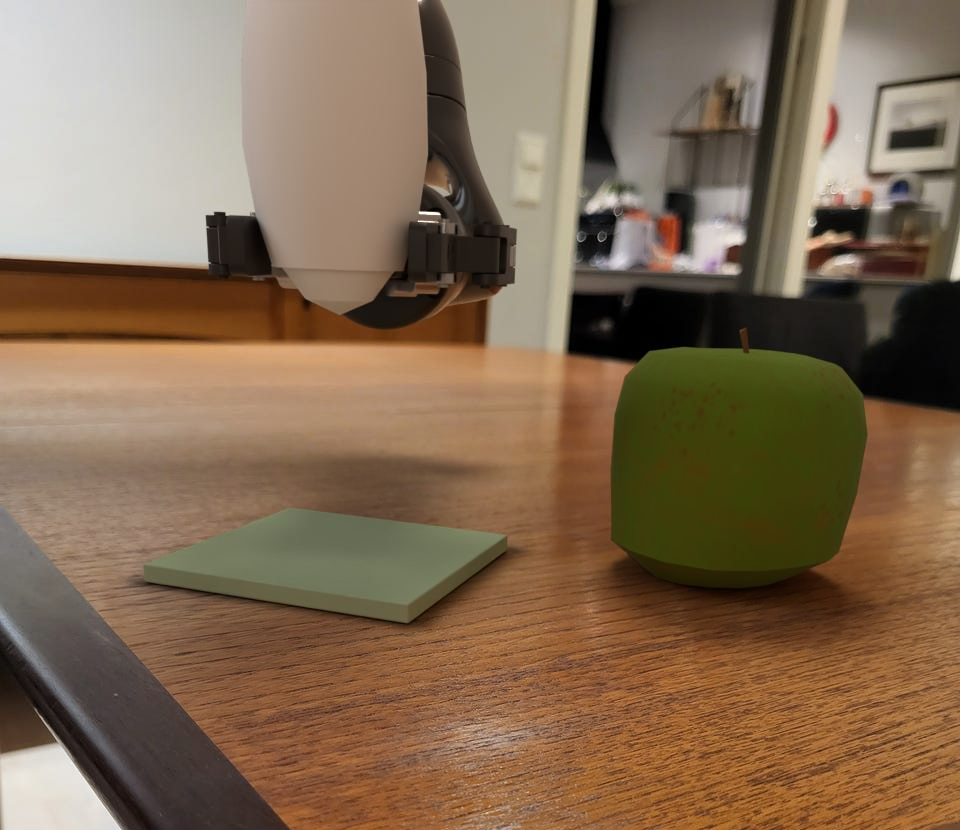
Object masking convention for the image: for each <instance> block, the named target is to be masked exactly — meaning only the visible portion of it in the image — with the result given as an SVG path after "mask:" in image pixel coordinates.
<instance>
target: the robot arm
mask: <svg viewBox="0 0 960 830" xmlns="http://www.w3.org/2000/svg"><path fill="white" fill-rule="evenodd" d="M418 7H419V15H420V24H421V32H422V41H423V49H424V58H425V66H426V78H427V130H428V157H427V164H426V171H425V177H424V184H423V191H422V197H421V204H420V211H419V217H418V221H410V223H409V231H408V257H407V260H406V264H405V267H404V270H403V271H394V273H393V274H392V275H391V277H390V278H389V279H388V281H387V282H386V283H385V285H384V286H383V288H382V289H381V290H380V292H379V293H378V294H377V296H376V297H375V299H374V300H373V301H371V302H369V303H366V304H364V305H362V306H360V307H357V308H355V309H353V310H350V311H348V312H346V313H343V314H341V315H340V316H342V317H344V318H345V319H347V320H348V321H350V322H352V323H354V324H356V325H359V326H361V327H364V328H368V329H372V330H379V331H391V330H393V331H394V330H400V329H403V328H407V327H410V326H412V325H414V324H417V323H420V322H422V321H425V320H427V319H430V318H432V317H433V316H435V315H438V313H439V312H441V311H443V310H444V309H445V308H446V307H451V306H457V305H461V304H468V303H473V302H479V301H484V300H487V299H489V298H492V297H494V296H496V295H498V294H499V293H500V292H501V290H502V289H503V288H507V287H508V285H514V284H515V283H516V264H517V262H516V261H517V241H518V240H517V239H518V237H517V236H518V228H515V227H511V226H510V225H509V224H505V223H504V220H503V218H502V216H501V214H500V212H499V209H498V207H497V205H496V202H495V201H494V199H493V198H494V197H493V196H492V194H491V192H490V190H489V187H488V186H487V184H486V180H485V178H484V176H483V173H482V171H481V168H480V165H479V163H478V159H477V157H476V156H477V155H476V153H475V149H474V144H473V140H472V137H471V131H470V125H469V120H468V112H467V105H466V104H467V103H466V97H465V89H464V81H463V75H462V68H461V61H460V55H459V50H458V45H457V41H456V37H455V33H454V30H453V29H454V28H453V27H452V24H451V21H450V18H449V15H448V13H447V11H446V9H445V7H444V5H443V2H442V0H418ZM431 186H432V187H431ZM433 187H438V188H442V189H443V190H445V191H447V192H448V195H443V194H442V193H440V192H439V191H437V190H436V189H435V188H433ZM226 214H227V212H226V211H213V214H205V227H206V228H205V230H206V231H205V232H206V244H207V245H206V247H207V260H208V261H207V262H208V275H210V276H217V277H216V278H217V279H221V280H222V279H223V280H229V279H230V276H237V277H238V276H239V277H241V278H252V281H259V282H260V281H265V280H266V278H276V280H277V283H278V284H279V285H278V286H280V287H281V288H283V289H292V290H293V289H294V290H298V288H297V287H296V286H295V284H294V283H293V282H292V280H291V279H290V278H289V276H288V275H287V274H286V272H285V271H284V270H283V268H282V267H273V266H272V263H271V260H270V257H269V254H268V251H267V248H266V245H265V242H264V239H263V235H262V232H261V229H260V226H259V223H258V220H257V217H256V214H255V211H254V212H253V211H250V212H249V215H238V214H235V215H234V214H229V215H226Z"/></svg>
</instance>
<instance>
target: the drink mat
mask: <svg viewBox="0 0 960 830" xmlns="http://www.w3.org/2000/svg"><path fill="white" fill-rule="evenodd" d="M508 537H509V536H508V535H507V534H505V533H498V532H497V533H495V532H490V531H489V532H487V531H481V530H472V529H464V528H456V527H449V526H440V525H433V524H424V523H417V522H410V521H409V522H407V521H401V520H400V521H399V520H394V519H393V520H392V519H385V518H376V517H369V516H368V517H367V516H361V515H353V514H344V513H338V512H337V513H336V512H328V511H321V510H312V509H304V508H297V507H288V508H284V509H283V510H280V511H277V512H275V513H272V514H269V515H267V516H265V517H261V518H259V519H257V520H254V521H251V522H248V523H247V524H244V525H241V526H239V527H236V528H233V529H230V530H228V531H225V532H223V533H220V534H218V535H215V536H212V537H210V538H207V539H205V540H202V541H199V542H197V543H194V544H192V545H189V546H187V547H184V548H181V549H178V550H176V551H173V552H171V553H169V554H166V555H163V556H161V557H157V558H155V559H153V560H150V561H148V562H145V563H143V565H142V566H143V579H144V582H145V583H151V584H157V585H164V586H170V587H175V588H181V589H182V588H183V589H189V590H194V591H202V592H209V593H213V594H220V595H226V596H231V597H238V598H245V599H253V600H258V601H264V602H271V603H277V604H283V605H290V606H297V607H302V608H309V609H314V610H321V611H327V612H334V613H341V614H348V615H352V616H358V617H365V618H371V619H378V620H385V621H391V622H396V623H402V624H409V623H410V622H412V621H413V620H415V619H416V618H418V617H419V616H420V615H421V614H423V613H424V612H425V611H427V610H428V609H429V608H431V607H432V606H434V605H435V604H436V603H438V602H439V601H440V600H442V599H443V598H444V597H447V595H449V594H450V593H451V592H453V591H454V590H455V589H457V588H458V587H459V586H460V585H463V583H465V582H466V581H467V580H469V579H470V578H471V577H473V576H474V575H475V574H477V573H478V572H479V571H481V570H483V568H485V567H486V566H487V565H489V564H490V563H491V562H493V561H494V560H495V559H497V558H498V557H500V556H501V555H502V554H504V553H505V552H506V551H507V550H508V539H509V538H508Z"/></svg>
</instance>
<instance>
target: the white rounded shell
mask: <svg viewBox="0 0 960 830" xmlns="http://www.w3.org/2000/svg"><path fill="white" fill-rule="evenodd" d="M245 4H246V5H245V14H244V15H245V16H244V26H243V37H242V47H241V57H240V63H241V64H240V66H241V68H240V69H241V75H240V77H241V138H242V139H241V141H242V142H241V143H242V149H243V155H244V161H245V166H246V171H247V176H248V182H249V187H250V193H251V197H252V203H253V209H254V212H255V214H256V217H257V220H258V223H259V226H260V229H261V232H262V235H263V239H264V242H265V245H266V248H267V251H268V254H269V257H270V260H271V263H272V266H273V267H282V268H283V270H284V271H285V272H286V274H287V275H288V276H289V278H290V279H291V280H292V282H293V283H294V284H295V286H296V287H297V288H298V289H297V290H298V291H299V292H300V294H301V295H302V297H303V298H304V299H305V300H307V301H309V302H311V303H313V304H316V305H317V306H319V307H321V308H323V309H326V310H328V311H330V312H332V313H334V314H336V315H338V316H342V315H341V314H343V313H346V312H348V311H350V310H353V309H355V308H357V307H360V306H362V305H364V304H366V303H369V302H371V301H373V300H374V299H375V297H376V296H377V294H378V293H379V292H380V290H381V289H382V288H383V286H384V285H385V283H386V282H387V281H388V279H389V278H390V277H391V275H392V274H393V273H394V271H403V270H404V267H405V264H406V260H407V257H408V231H409V223H410V221H418V217H419V211H420V204H421V197H422V191H423V184H424V177H425V171H426V164H427V157H428V130H427V78H426V66H425V58H424V49H423V41H422V32H421V24H420V15H419V7H418V0H246V2H245Z"/></svg>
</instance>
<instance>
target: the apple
mask: <svg viewBox="0 0 960 830" xmlns="http://www.w3.org/2000/svg"><path fill="white" fill-rule="evenodd" d="M747 328H748V327H744V328H742V329H741V328H740V329H739V336H740V341H741V347H742V348H724V347H723V348H719V347H718V348H715V347H714V348H713V347H712V348H711V347H710V348H708V347H690V346H689V347H688V346H681V347H672V348H663V349H656V350H649V351H648V352H647V353H645V355H644V356H643V357H642V358H641V359H640V360H639V361H638V362H637V363H636V364H635V365H634V366H633V367H632V368H631V369H630V370H629V371H628V372H627V373H626V374H625V375H624V377H623V380H622V384H621V388H620V393H619V396H618V400H617V403H616V407H615V411H614V417H613V431H612V443H611V445H612V447H611V458H610V522H611V524H610V525H611V526H610V527H611V528H610V540H611V541H612V542H613V543H614V544H616V546H618V547H619V548H620V550H622V551H624V552H625V553H626V554H627V555H628V556H629V557H630V558H631V559H633V561H635V562H636V563H638V564H639V565H640V567H642V568H643V569H644V570H645V571H647V572H648V573H650V574H651V575H653V576H654V577H655V578H657V579H660V580H663V581H667V582H670V583H674V584H677V585H682V586H692V587H700V588H701V587H702V588H710V589H714V588H715V589H748V588H756V587H757V588H758V587H763V586H764V587H765V586H770V585H773V584H776V583H779V582H781V581H784V580H787V579H789V578H792V577H794V576H796V575H799V574H801V573H803V572H806V571H809V570H811V569H813V568H815V567H818V566H820V565H822V564H824V563H827V562H829V561H831V560H832V559H833V558H834V557H835V556H836V555H838V553H840V549H841V546H842V543H843V540H844V538H845V537H844V536H845V534H846V531H847V528H848V524H849V521H850V518H851V514H852V511H853V508H854V505H855V501H856V499H857V495H858V490H859V485H860V479H861V474H862V469H863V463H864V457H865V452H866V446H867V442H868V434H869V433H868V425H867V418H866V409H865V401H864V394H863V392H862V391H861V390H860V389H859V387H858V386H857V385H856V384H855V383H854V381H853V380H852V379H851V378H850V376H849V375H848V373H847V372H846V371H845V370H844V369H843V368H842V367H841V366H839V365H838V364H836V363H833V362H830V361H826V360H822V359H819V358H816V357H812V356H808V355H804V354H801V353H794V352H785V351H777V350H770V349H769V350H768V349H767V350H766V349H756V348H755V349H754V348H750V347H749V337H748V329H747Z"/></svg>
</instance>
